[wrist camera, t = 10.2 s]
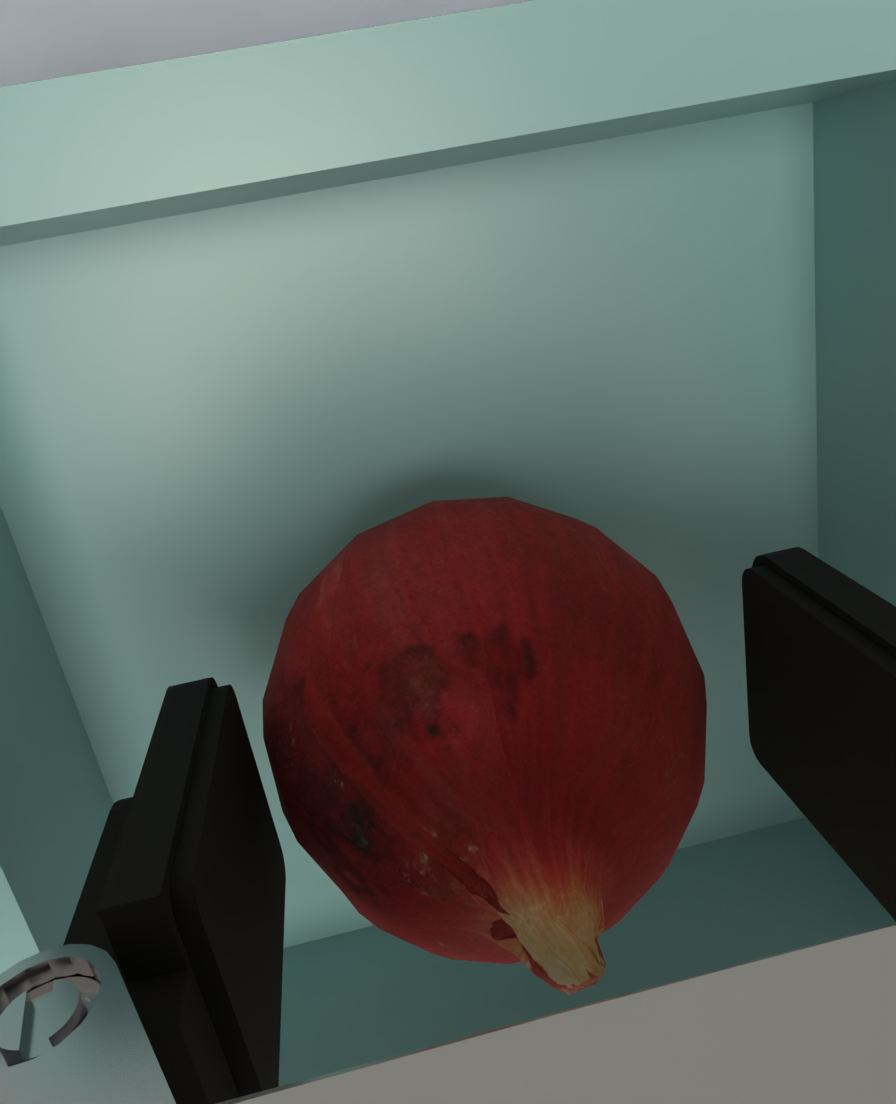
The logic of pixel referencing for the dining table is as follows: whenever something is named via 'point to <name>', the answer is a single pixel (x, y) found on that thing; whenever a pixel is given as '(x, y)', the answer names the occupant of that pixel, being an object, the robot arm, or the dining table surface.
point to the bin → (438, 412)
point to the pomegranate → (488, 732)
